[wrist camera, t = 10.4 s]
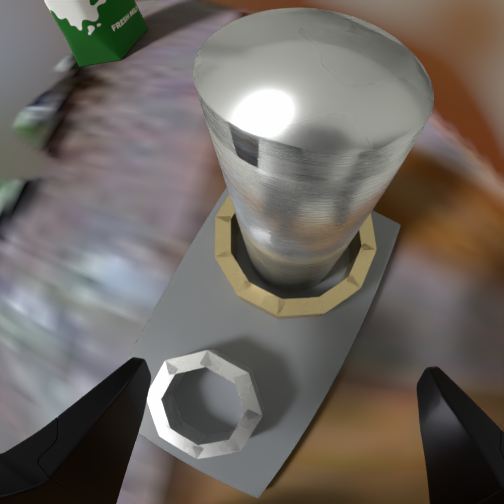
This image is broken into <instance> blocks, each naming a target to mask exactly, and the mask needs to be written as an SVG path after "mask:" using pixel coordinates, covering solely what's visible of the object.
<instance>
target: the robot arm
mask: <svg viewBox="0 0 504 504" xmlns="http://www.w3.org/2000/svg"><path fill="white" fill-rule="evenodd" d="M150 384H151V373H150V370H149V368H148V365H147V362H146V360H145V359H143V358H138V357H132V358H130V359H129V360H128V361H127V362H126V363H124V364H123V365H122V366H121V367H119V368H118V369H117V370H116V371H114V372H113V373H112V374H111V375H109V376H108V377H107V378H106V379H104V380H103V381H102V382H101V383H99V384H98V385H97V386H96V387H94V388H93V389H92V390H91V391H89V392H88V393H87V394H86V395H84V396H83V397H82V398H81V399H79V400H78V401H77V402H76V403H74V404H73V405H72V406H71V407H69V408H68V409H67V410H65V411H64V412H63V413H62V414H60V415H59V416H58V418H55V419H54V420H53V421H52V422H50V423H49V424H48V425H46V426H45V427H44V428H42V429H41V430H40V431H38V432H37V433H35V434H34V435H32V436H31V437H29V438H27V439H26V440H24V441H22V442H21V443H19V444H18V445H16V446H14V447H13V448H11V449H9V450H8V451H6V452H4V453H2V454H0V504H116V503H117V499H118V496H119V493H120V489H121V486H122V483H123V479H124V476H125V473H126V470H127V466H128V463H129V460H130V457H131V454H132V451H133V448H134V444H135V441H136V438H137V435H138V432H139V429H140V426H141V423H142V420H143V416H144V411H145V407H146V402H147V397H148V393H149V388H150ZM417 397H418V408H419V421H420V430H421V436H422V442H423V449H424V455H425V462H426V470H427V478H428V487H429V498H430V504H504V432H503V431H502V430H501V429H500V428H499V427H498V426H497V425H496V424H495V423H494V422H493V421H492V420H491V419H490V418H489V417H488V415H487V414H486V413H485V412H484V411H483V410H482V409H481V408H480V407H479V406H478V405H477V404H476V403H475V402H474V401H473V400H472V399H471V398H470V397H469V396H468V395H467V394H466V393H465V392H464V391H463V390H462V389H461V388H460V387H458V386H457V385H456V384H455V383H454V382H453V381H452V380H451V379H450V378H449V377H448V376H447V375H446V374H445V373H444V372H443V371H442V370H441V369H440V368H439V367H428V368H426V369H425V370H424V372H423V374H422V376H421V378H420V379H419V381H418V383H417Z"/></svg>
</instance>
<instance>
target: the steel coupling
mask: <svg viewBox="0 0 504 504" xmlns="http://www.w3.org/2000/svg"><path fill="white" fill-rule="evenodd" d="M193 77H194V83H195V86H196V90H197V93H198V96H199V99H200V102H201V106H202V109H203V112H204V115H205V118H206V122H207V125H208V128H209V131H210V134H211V138H212V141H213V144H214V147H215V150H216V154H217V157H218V160H219V163H220V166H221V169H222V173H223V176H224V179H225V182H226V185H227V189H228V192H229V195H230V198H231V201H232V204H233V208H234V211H235V214H236V217H237V220H238V223H239V226H240V230H241V233H242V236H243V239H244V242H245V245H246V249H247V252H248V255H249V258H250V261H251V264H252V266H253V268H254V270H255V272H256V273H257V275H258V276H259V277H260V278H261V279H262V280H263V281H264V282H265V283H266V284H268V285H269V286H271V287H273V288H275V289H278V290H281V291H286V292H299V291H304V290H307V289H310V288H312V287H314V286H315V285H317V284H318V283H320V282H321V281H322V280H323V279H324V278H325V277H326V275H327V274H328V273H329V271H330V270H331V269H332V267H333V266H334V265H335V263H336V262H337V260H338V259H339V258H340V256H341V255H342V253H343V252H344V251H345V249H346V248H347V246H348V245H349V244H350V242H351V241H352V239H353V238H354V236H355V235H356V233H357V232H358V231H359V229H360V228H361V226H362V225H363V223H364V222H365V220H366V219H367V217H368V216H369V214H370V213H371V211H372V210H373V208H374V207H375V205H376V204H377V202H378V201H379V199H380V198H381V196H382V195H383V193H384V192H385V190H386V189H387V187H388V185H389V184H390V182H391V181H392V179H393V178H394V176H395V174H396V173H397V171H398V170H399V168H400V166H401V165H402V163H403V161H404V160H405V158H406V156H407V155H408V153H409V152H410V150H411V148H412V146H413V145H414V143H415V141H416V140H417V138H418V136H419V135H420V133H421V131H422V129H423V128H424V126H425V124H426V122H427V121H428V119H429V117H430V115H431V112H432V109H433V104H434V94H433V87H432V84H431V81H430V78H429V76H428V74H427V72H426V70H425V68H424V67H423V66H422V64H421V63H420V61H419V60H418V59H417V58H416V56H415V55H414V54H413V53H412V52H411V51H410V50H409V49H408V48H407V47H406V46H404V45H403V44H402V43H401V42H400V41H398V40H397V39H396V38H394V37H393V36H391V35H390V34H388V33H387V32H385V31H384V30H382V29H380V28H378V27H376V26H374V25H372V24H370V23H368V22H365V21H363V20H360V19H358V18H355V17H352V16H348V15H345V14H341V13H338V12H333V11H327V10H321V9H312V8H283V9H274V10H268V11H263V12H258V13H255V14H251V15H248V16H245V17H242V18H240V19H238V20H235V21H233V22H231V23H229V24H227V25H226V26H224V27H222V28H221V29H219V30H218V31H217V32H215V33H214V34H213V35H212V36H211V37H210V38H209V39H208V40H207V41H206V42H205V43H204V44H203V46H202V47H201V48H200V50H199V52H198V54H197V56H196V59H195V62H194V67H193Z"/></svg>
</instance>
